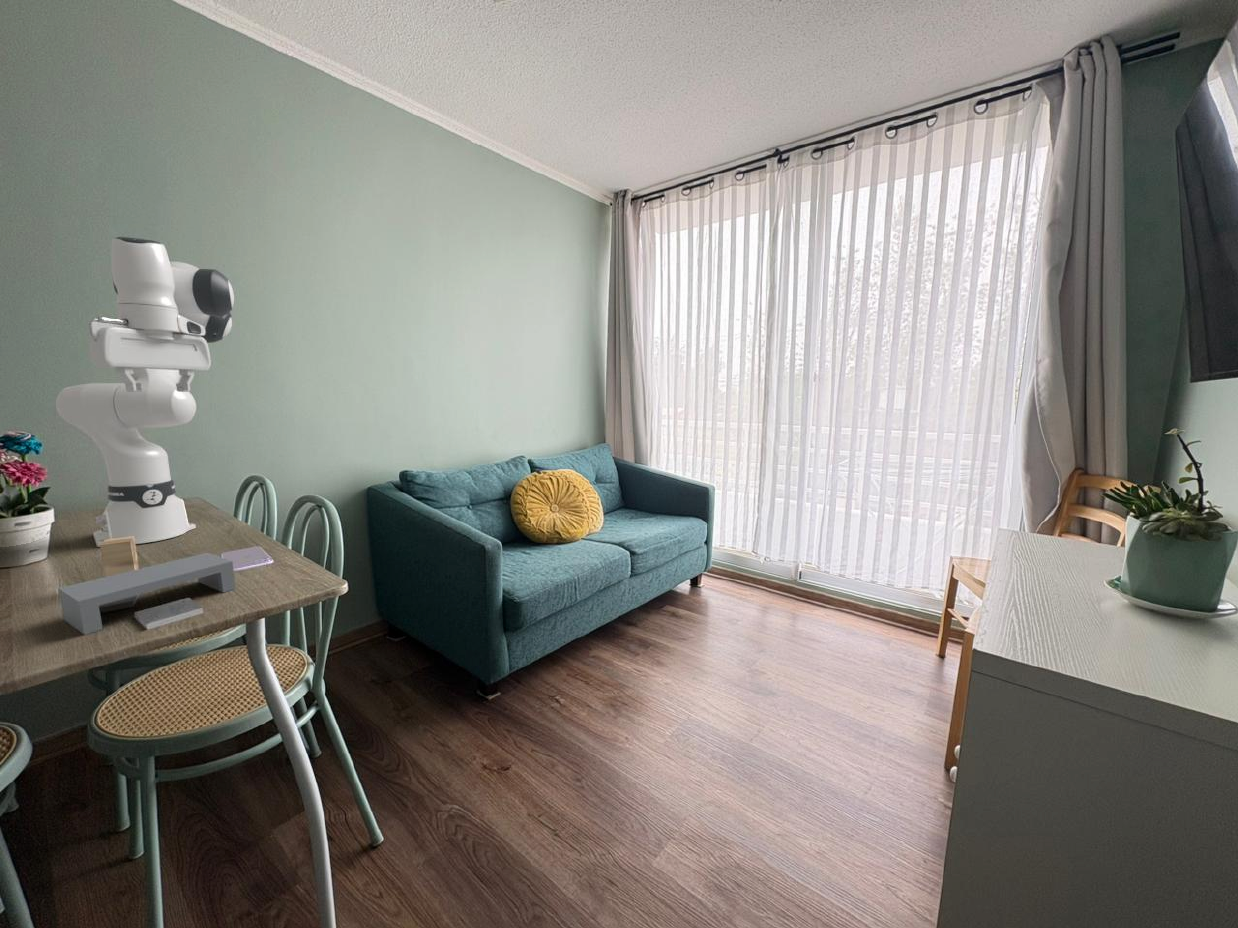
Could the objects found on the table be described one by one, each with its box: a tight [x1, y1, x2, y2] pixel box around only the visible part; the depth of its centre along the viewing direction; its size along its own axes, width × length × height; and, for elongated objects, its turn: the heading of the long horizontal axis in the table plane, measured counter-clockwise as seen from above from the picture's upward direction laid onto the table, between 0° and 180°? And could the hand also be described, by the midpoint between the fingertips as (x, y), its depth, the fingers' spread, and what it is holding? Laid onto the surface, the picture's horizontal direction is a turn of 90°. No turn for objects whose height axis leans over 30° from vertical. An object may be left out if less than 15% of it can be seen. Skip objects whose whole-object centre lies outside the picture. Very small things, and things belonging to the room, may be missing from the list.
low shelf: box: [57, 552, 237, 636], centre depth 85 cm, size 10×20×6 cm, turn 151°
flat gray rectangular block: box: [134, 597, 204, 630], centre depth 81 cm, size 7×7×2 cm
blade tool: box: [99, 536, 141, 614], centre depth 88 cm, size 16×6×9 cm, turn 38°
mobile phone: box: [220, 545, 275, 572], centre depth 108 cm, size 8×1×15 cm
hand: (160, 391), depth 99 cm, fingers open, 8 cm apart
